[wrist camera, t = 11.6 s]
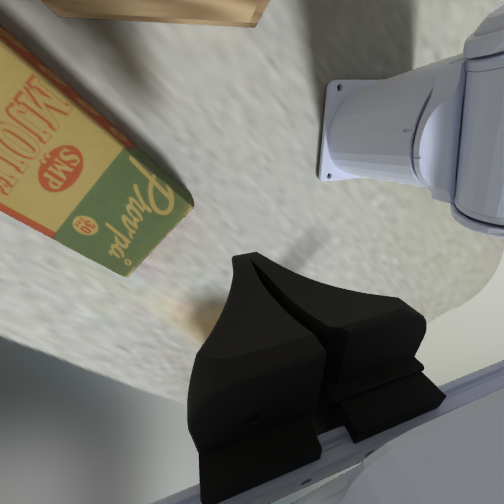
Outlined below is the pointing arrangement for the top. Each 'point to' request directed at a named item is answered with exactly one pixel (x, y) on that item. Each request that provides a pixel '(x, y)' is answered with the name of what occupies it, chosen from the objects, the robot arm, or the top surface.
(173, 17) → the cardboard box
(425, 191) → the top surface
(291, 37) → the top surface
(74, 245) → the carton
